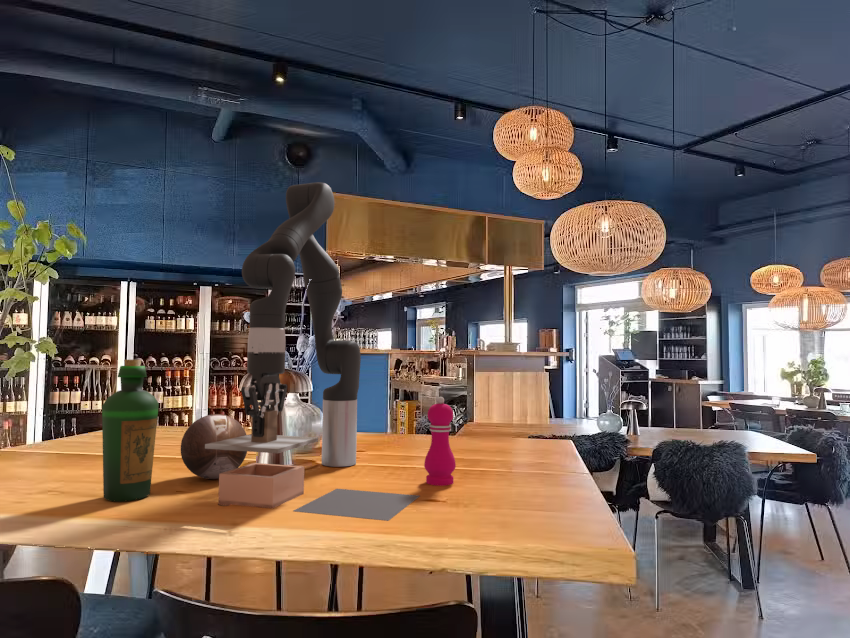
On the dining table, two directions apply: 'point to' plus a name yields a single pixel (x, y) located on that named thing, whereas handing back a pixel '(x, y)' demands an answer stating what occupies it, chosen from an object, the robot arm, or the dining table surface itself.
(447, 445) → the pepper mill
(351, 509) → the mat
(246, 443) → the lid
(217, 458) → the brown ball
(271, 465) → the pink storage bin
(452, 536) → the dining table surface
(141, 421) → the bottle
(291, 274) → the robot arm
